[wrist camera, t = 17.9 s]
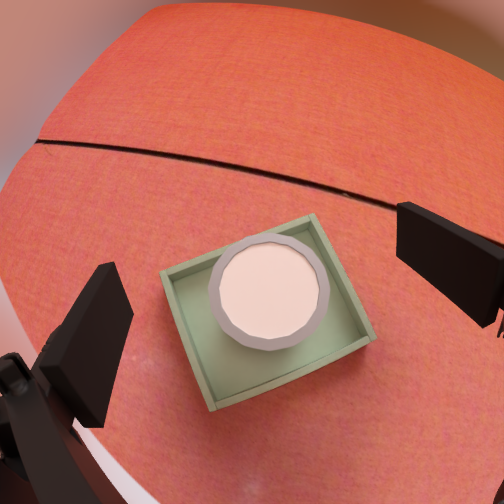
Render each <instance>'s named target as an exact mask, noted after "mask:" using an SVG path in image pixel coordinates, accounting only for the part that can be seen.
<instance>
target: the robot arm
mask: <svg viewBox="0 0 504 504" xmlns="http://www.w3.org/2000/svg"><path fill="white" fill-rule="evenodd" d="M396 256H397V257H398V258H399V259H401V260H402V261H403V262H404V263H406V264H407V265H408V266H410V267H411V268H412V269H413V270H415V271H416V272H417V273H418V274H420V275H421V276H422V277H423V278H425V279H426V280H427V281H428V282H429V283H431V284H432V285H433V286H434V287H435V288H437V289H438V290H439V291H440V292H441V293H443V294H444V295H445V296H446V297H447V298H449V299H450V300H451V301H452V302H453V303H454V304H456V305H457V306H458V307H459V308H460V309H461V310H462V311H464V312H465V313H466V314H467V315H468V316H469V317H470V318H472V319H473V320H474V321H475V322H476V323H477V324H478V325H479V326H480V327H481V328H485V327H487V326H488V325H490V324H492V323H494V322H495V320H496V317H497V314H498V310H499V308H501V309H502V310H503V311H504V250H503V249H501V248H499V247H498V246H496V245H494V244H492V243H491V242H489V241H487V240H485V239H483V238H482V237H480V236H478V235H476V234H474V233H472V232H470V231H469V230H467V229H465V228H463V227H461V226H459V225H457V224H455V223H453V222H451V221H449V220H447V219H445V218H443V217H441V216H439V215H437V214H435V213H433V212H431V211H429V210H427V209H425V208H422V207H420V206H418V205H416V204H414V203H412V202H403V203H398V204H397V245H396ZM133 315H134V313H133V310H132V308H131V305H130V303H129V300H128V298H127V295H126V293H125V290H124V288H123V285H122V282H121V280H120V277H119V274H118V271H117V269H116V266H115V263H114V262H109V263H105V264H101V265H99V266H98V267H97V269H96V270H95V272H94V273H93V275H92V276H91V278H90V279H89V281H88V282H87V284H86V285H85V287H84V288H83V290H82V292H81V293H80V295H79V296H78V298H77V299H76V301H75V303H74V304H73V306H72V308H71V309H70V311H69V312H68V314H67V316H66V317H65V319H64V321H63V323H62V324H61V325H59V326H58V327H57V328H56V329H55V330H54V331H53V332H52V333H51V334H50V336H49V338H48V340H47V341H46V345H44V347H43V348H42V350H41V351H42V352H40V354H39V356H38V357H37V359H36V361H35V363H34V365H33V367H32V369H31V370H29V368H28V367H27V365H26V364H25V362H24V361H23V359H22V357H21V356H20V355H19V353H15V352H13V353H8V354H6V355H4V356H2V357H1V358H0V393H1V394H2V395H3V396H1V397H0V453H1V455H0V456H1V457H0V504H128V503H127V502H126V501H125V500H124V499H123V497H122V496H121V495H120V493H119V492H118V491H117V489H116V488H115V487H114V486H113V484H112V483H111V482H110V480H109V479H108V478H107V476H106V475H105V473H104V472H103V471H102V469H101V468H100V466H99V465H98V463H97V462H96V460H95V459H94V457H93V456H92V454H91V453H90V451H89V450H88V448H87V447H86V445H85V443H84V442H83V440H82V439H81V437H80V435H79V434H78V432H77V431H76V430H75V429H74V427H73V426H72V424H73V421H74V418H77V420H78V421H79V422H80V424H81V425H82V426H83V427H84V428H104V423H105V418H106V414H107V410H108V405H109V401H110V397H111V393H112V389H113V385H114V381H115V377H116V374H117V370H118V366H119V362H120V359H121V355H122V352H123V348H124V345H125V341H126V338H127V335H128V331H129V328H130V325H131V321H132V318H133ZM503 331H504V315H503V318H502V322H501V325H500V328H499V331H498V333H497V337H498V338H499V337H500V334H501V333H502V332H503ZM503 338H504V335H503ZM493 504H504V480H503V482H502V484H501V486H500V487H499V489H498V491H497V493H496V496H495V498H494V501H493Z"/></svg>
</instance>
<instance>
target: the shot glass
mask: <svg viewBox="0 0 504 504" xmlns="http://www.w3.org/2000/svg"><path fill="white" fill-rule="evenodd" d="M208 293H209V300H210V307H211V312H212V313H213V315H214V317H215V318H216V320H217V321H218V323H219V325H220V326H221V328H222V330H223V331H224V332H225V333H226V334H228V335H229V336H231V337H232V338H234V339H235V340H236V341H238V342H239V343H241V344H242V345H244V346H247V347H251V348H256V349H261V350H266V351H273V350H278V349H283V348H288V347H293V346H295V345H296V344H298V343H299V342H301V341H302V340H304V339H305V338H307V337H308V336H310V335H311V334H313V333H314V332H315V330H316V329H317V327H318V326H319V324H320V322H321V321H322V319H323V318H324V316H325V314H326V313H327V309H328V302H329V296H330V285H329V281H328V277H327V273H326V270H325V267H324V265H323V264H322V263H321V261H320V260H319V258H318V257H317V256H316V254H315V253H314V252H313V250H312V249H311V248H309V247H308V246H306V245H304V244H303V243H301V242H300V241H298V240H296V239H295V238H293V237H290V236H285V235H280V234H275V233H270V232H269V233H263V234H257V235H251V236H247V237H245V238H243V239H242V240H240V241H238V242H237V243H235V244H233V245H231V246H230V247H228V248H227V249H226V251H225V252H224V253H223V254H222V256H221V257H220V258H219V260H218V261H217V262H216V263H215V265H214V267H213V270H212V274H211V278H210V281H209V285H208Z"/></svg>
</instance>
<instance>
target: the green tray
mask: <svg viewBox="0 0 504 504" xmlns="http://www.w3.org/2000/svg"><path fill="white" fill-rule="evenodd" d="M269 232H270V233H275V234H280V235H285V236H290V237H293V238H295V239H296V240H298V241H300V242H301V243H303V244H304V245H306V246H308V247H309V248H311V249H312V250H313V252H314V253H315V254H316V256H317V257H318V258H319V260H320V261H321V263H322V264H323V265H324V267H325V270H326V273H327V277H328V281H329V285H330V296H329V302H328V309H327V313H326V314H325V316H324V318H323V319H322V321H321V322H320V324H319V326H318V327H317V329H316V330H315V332H314V333H313V334H311V335H310V336H308V337H307V338H305V339H304V340H302V341H301V342H299V343H298V344H296V345H295V346H293V347H288V348H283V349H278V350H273V351H266V350H261V349H256V348H251V347H247V346H244V345H242V344H241V343H239V342H238V341H236V340H235V339H234V338H232V337H231V336H229V335H228V334H226V333H225V332H224V331H223V330H222V328H221V326H220V325H219V323H218V321H217V320H216V318H215V317H214V315H213V313H212V312H211V307H210V300H209V293H208V285H209V281H210V278H211V274H212V270H213V267H214V265H215V263H216V262H217V261H218V260H219V258H220V257H221V256H222V254H223V253H224V252H225V251H226V249H227V248H228V247H230V246H231V245H233V244H235V243H237V242H238V241H237V242H235V243H232V244H229V245H227V246H224V247H222V248H219V249H216V250H214V251H211V252H209V253H206V254H203V255H201V256H198V257H196V258H193V259H191V260H188V261H185V262H183V263H180V264H178V265H175V266H173V267H170V268H168V269H166V270H162V271H160V272H159V275H160V278H161V281H162V284H163V287H164V291H165V294H166V297H167V300H168V303H169V306H170V309H171V312H172V315H173V318H174V321H175V324H176V327H177V329H178V332H179V335H180V338H181V341H182V343H183V346H184V349H185V352H186V354H187V357H188V360H189V362H190V365H191V367H192V370H193V373H194V375H195V378H196V380H197V383H198V385H199V388H200V390H201V393H202V395H203V397H204V400H205V402H206V405H207V407H208V409H209V412H213V411H216V410H219V409H222V408H225V407H228V406H230V405H233V404H236V403H239V402H241V401H244V400H247V399H249V398H252V397H254V396H257V395H260V394H262V393H265V392H267V391H269V390H272V389H274V388H277V387H279V386H282V385H284V384H286V383H289V382H291V381H293V380H295V379H298V378H300V377H302V376H304V375H307V374H309V373H311V372H313V371H315V370H317V369H319V368H322V367H324V366H326V365H328V364H330V363H332V362H334V361H336V360H338V359H340V358H342V357H344V356H346V355H348V354H350V353H352V352H354V351H356V350H358V349H359V348H361V347H363V346H365V345H367V344H369V343H370V342H372V341H374V340H376V339H377V336H376V334H375V332H374V330H373V328H372V325H371V323H370V321H369V319H368V317H367V315H366V313H365V311H364V308H363V306H362V304H361V302H360V300H359V298H358V296H357V294H356V292H355V290H354V288H353V286H352V284H351V282H350V280H349V278H348V276H347V274H346V272H345V270H344V268H343V266H342V264H341V262H340V260H339V258H338V256H337V255H336V253H335V251H334V249H333V247H332V245H331V243H330V241H329V239H328V238H327V236H326V234H325V232H324V230H323V228H322V227H321V225H320V223H319V221H318V219H317V217H316V216H315V214H314V213H312V214H309V215H306V216H304V217H301V218H298V219H295V220H293V221H290V222H287V223H285V224H282V225H279V226H277V227H274V228H272V229H269V230H266V231H264V232H261V233H258V234H263V233H269ZM256 235H257V234H256Z"/></svg>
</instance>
